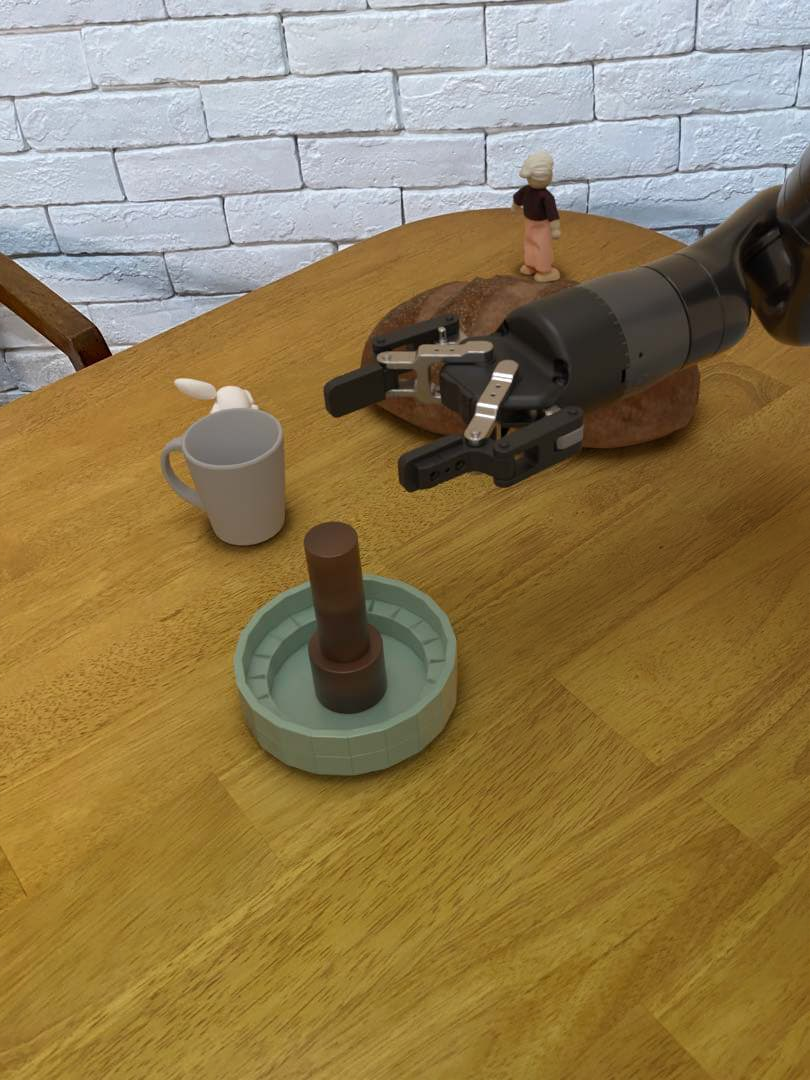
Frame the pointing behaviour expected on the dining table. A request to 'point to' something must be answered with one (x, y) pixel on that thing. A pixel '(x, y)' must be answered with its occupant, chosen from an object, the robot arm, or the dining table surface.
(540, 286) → the bread
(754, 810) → the dining table surface
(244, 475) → the cup
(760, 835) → the dining table surface
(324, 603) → the pestle
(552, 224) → the grandmother figurine
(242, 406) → the rabbit figurine
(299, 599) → the bowl
